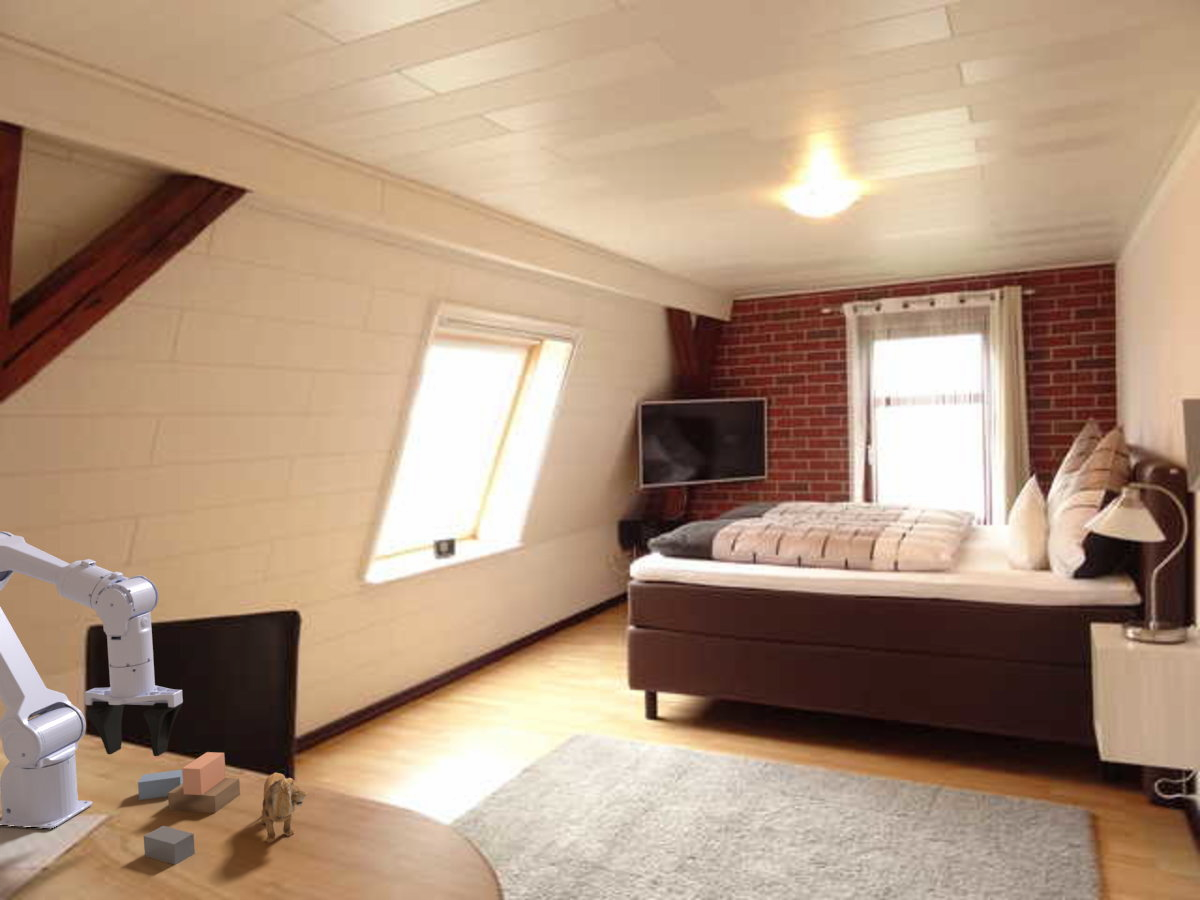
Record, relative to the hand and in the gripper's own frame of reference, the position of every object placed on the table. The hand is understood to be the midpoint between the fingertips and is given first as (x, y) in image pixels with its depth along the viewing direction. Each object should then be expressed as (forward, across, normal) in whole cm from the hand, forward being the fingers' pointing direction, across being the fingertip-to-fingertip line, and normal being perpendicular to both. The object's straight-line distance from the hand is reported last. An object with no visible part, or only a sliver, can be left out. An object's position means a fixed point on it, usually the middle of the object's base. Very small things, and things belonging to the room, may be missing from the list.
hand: (137, 752), depth 124 cm
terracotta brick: (+8, +6, +7) cm, 12 cm away
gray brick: (+11, +11, -8) cm, 17 cm away
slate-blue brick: (+11, -3, +9) cm, 14 cm away
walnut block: (+11, +6, +7) cm, 14 cm away
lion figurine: (+11, +22, 0) cm, 25 cm away
